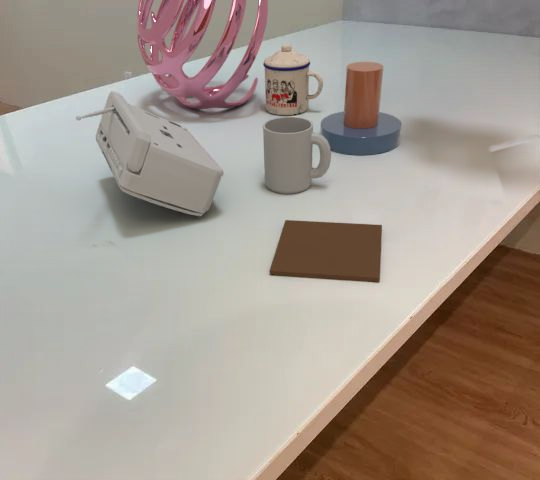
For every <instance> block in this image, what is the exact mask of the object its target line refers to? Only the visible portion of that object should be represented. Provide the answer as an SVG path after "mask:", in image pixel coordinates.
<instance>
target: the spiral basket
mask: <svg viewBox="0 0 540 480" xmlns="http://www.w3.org/2000/svg"><path fill="white" fill-rule="evenodd" d="M154 1H155V0H138V3H137V9H136V36H137V43H138V47H139V52H140V55H141V58H142V60H143V63H144V64H145V66H146V67H147V69H148V70H149V72H150V73H151V74H152V77H153V79H154V80H155V82H156V83H157V85H158V86H159V87H160V89H162V91H164V92H165V93H166V94H168V95H169V96H171V97H174V98H176V99H177V101H179V103H181V104H182V105H183V106H186V107H187V108H190V109H194V110H207V109H225V110H226V109H233V108H238V107H239V106H241V105H243V104H245V103H246V102H248V100H249V99H250V98H252V97H253V95H254V93H255V91H256V88H257V86H258V83H259V82H258V81H259V79H258V77H255V78H254V80H253V82H252V84H251V87H250V89H249V91H247V93H246V94H245V96H243V97H241V99H238V100H237V101H226V100H227V99H228V97H230V96H231V95H232V94H233V93H234V92H235V91H236V90H237V88H238V87H239V86H240V85H241V84H242V83H243V82H245V80H247V79H248V78H249V76H250V75H249V74H248V73H249V71H250V70H251V68H252V66H253V64H254V62H255V61H256V58H257V55H258V54H259V51H260V49H261V46H262V43H263V40H264V36H265V32H266V29H267V23H268V17H269V0H258V3H257V13H256V14H257V15H256V18H255V24H254V27H253V31H252V34H251V37H250V41H249V43H248V46H247V48H246V50H245V53H244V54H243V56H242V59H241V60H240V62H239V64H238V65H237V68H236V69H235V71H234V72H233V74H232V75H231V76H230V78H229V79H228V80H227V81H226V83H224V84H219V85H213V86H207V85H208V84H210V82H211V81H212V80H213V78H215V76H216V75H217V74H218V72H219V71H220V70H221V69H222V67H223V65H224V64H225V63H226V60H227V59H228V57H229V56H230V53H231V52H232V49H233V48H234V45H235V43H236V40H237V38H238V35H239V33H240V30H241V26H242V23H243V20H244V15H245V11H246V5H247V0H231V7H230V11H229V15H228V18H227V21H226V24H225V26H224V30H223V32H222V35H221V38H220V40H219V41H218V43H217V44H216V47H215V49H214V51H213V52H212V54H211V56H210V57H209V59H208V60H207V62H206V63H205V64H204V66H203V67H202V68H201V69H200V70H199V71H198V73H196V74H195V75H194V76H192V77H190V76H188V75H187V74H186V73H185V71H184V70H183V66H184V64H185V63H186V62H187V61H188V60H189V59H190V58H191V57H192V55H193V54H194V52H195V51H196V50H197V48H198V46H199V45H200V43H201V41H202V39H203V38H204V36H205V34H206V31H207V29H208V28H209V25H210V22H211V19H212V16H213V13H214V10H215V6H216V2H217V0H186V2H185V0H161V1H160V5H159V6H158V10H157V12H156V14H155V12H154V11H153V10H152V6H153V4H154ZM195 13H196V14H195ZM194 14H195V17H194ZM149 17H150V22H151V27H150V28H147V26H148V22H149V21H148V20H149ZM193 18H194V19H193ZM192 19H193V20H192ZM191 21H193V22H192V23H191ZM190 23H191V25H190ZM189 25H190V27H189ZM174 26H175V27H174ZM172 28H174V31H173V33H172V37H171V41H170V45H169V48H168V46H167V44H166V40H165V39H166V36H167V35H168V34H169V33H170V31H171V30H172ZM188 28H189V29H188ZM146 45H147V46H149V56H148V52H147V49H146ZM160 54H161V60H160V58H159V56H160ZM187 97H188V98H189V97H191V98H194V99H195V100H197V101H199V102H190V101H189V100H188V99H187Z"/></svg>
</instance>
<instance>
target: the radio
mask: <svg viewBox="0 0 540 480" xmlns="http://www.w3.org/2000/svg"><path fill="white" fill-rule="evenodd" d="M103 107H104V108H103V109H100V110H96V111H93V112H90V113H88V114H84V115H82V116H81V115H77V116H76V117H75V120H76V121H81V120H82V119H87V118H92V117H96V116H100V115H101V118H100V120H99V121H100V122H99V124H98V127H97V130H96V134H95V141H96V143H97V145H98V147H99V149H100V152H101V154H102V156H103V157H104V159H105V161H106V163H107V164H108V168H109V169H110V171H111V173H112V175H113V178H114V179H115V182H116V184H117V186H118V188H119V189H120V191H122V192H124V193H125V194H127V195H130V196H132V197H135V198H137V199H139V200H142V201H145V202H148V203H150V204H151V203H152V204H153V205H156V206H160V207H163V208H166V209H169V210H172V211H175V212H180V213H183V214H187V215H191V216H197V217H202V216H203V215H204V214H205V213H206V212H208V211H209V209H211V205H212V202H213V200H214V196H215V195H216V192H217V190H218V187H219V185H220V182H221V179H222V177H224V174H225V173H224V169H223V168H222V167H221V166H220V165H219V164H218V162H217V161H216V160H215V159H214V158H213V157H212V155H210V153H209V152H208V151H207V150H206V149H205V148H204V147H203V145H202V144H201V143H200V142H199V141H198V140H197V139H196V137H194V135H193V134H192V133H191V132H190V131H189V130H188V128H186V127H183V126H182V125H180V124H178V123H176V122H173V121H171V120H168V119H166V118H164V117H161V116H159V115H157V114H154V113H152V112H149V111H147V110H145V109H142V108H140V107H137V106H135V105H133V104H131V103H128V102H127V100H126V98H125V97H124V96H123V95H122V94H121V93H119V92H117V91H113V90H111V91H109V94H108V96H107V99H106V102H105V104H104V106H103Z"/></svg>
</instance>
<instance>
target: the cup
mask: <svg viewBox="0 0 540 480" xmlns="http://www.w3.org/2000/svg"><path fill="white" fill-rule="evenodd" d="M262 137H263V139H262V140H263V167H264V183H265V185H266V187H267V189H269V191H271V192H273V193H277V194H284V195H292V194H298V193H302V192H304V191H306V190H308V189H309V188H310V186H311V185H312V182H313V181H312V180H313V179H315V180H316V179H320V178H322V177H323V176H324V175H326V174H327V173H328V170H329V169H330V166H331V162H332V151H331V150H330V146H329V143H328V141H327V140H326V139H325V138H324V136H323V135H320V133H318V132H314V123H313V122H312V121H311V120H309V119H308V118H304V117H300V116H299V117H298V116H281V117H280V116H279V117H275V118H271V119H268V120H266V121H265V122H264V123H263V124H262ZM313 145H316V146H317V147H318V151H319V161H318V162H319V163H318V164H317V166H316V167H313Z"/></svg>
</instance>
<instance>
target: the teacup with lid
mask: <svg viewBox="0 0 540 480" xmlns="http://www.w3.org/2000/svg"><path fill="white" fill-rule="evenodd" d="M280 47H281V50H277V51H276V52H275V53H274V54H272V55H269V56H267V57H265V58H264V61H263V64H262V65H263V67H264V87H265V110H266V111H267V112H268V113H270V114H273V115H277V116H295V115H294V114H296V115H300V114H303V113H305V112H306V111H308V109H309V100H314V99H316V98H318V97H319V96H320V94H321V93H322V91H323V88H324V80H323V77H322V75H321V74H320V73H318V72H316V71H311V70H310V65H311V61H310V58H309V57H308V56H307V55H304V54H301V53H299V51H297V50H294V49H293V46H292V44H291V43H283V44H282V45H281V46H280ZM310 77H314V78H315V79H316V80H317V82H318V86H317V91H316V92H315V93H314V94H309V90H310V89H309V87H310V86H309V85H310V84H309V82H310ZM299 113H300V114H299Z"/></svg>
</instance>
